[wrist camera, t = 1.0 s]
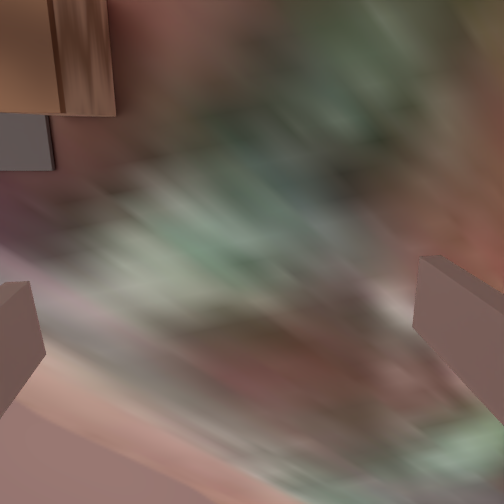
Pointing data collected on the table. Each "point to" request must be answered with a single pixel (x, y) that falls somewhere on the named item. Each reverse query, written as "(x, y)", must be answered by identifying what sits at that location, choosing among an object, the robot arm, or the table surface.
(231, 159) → the table surface
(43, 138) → the mat
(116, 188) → the table surface
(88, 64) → the slab
